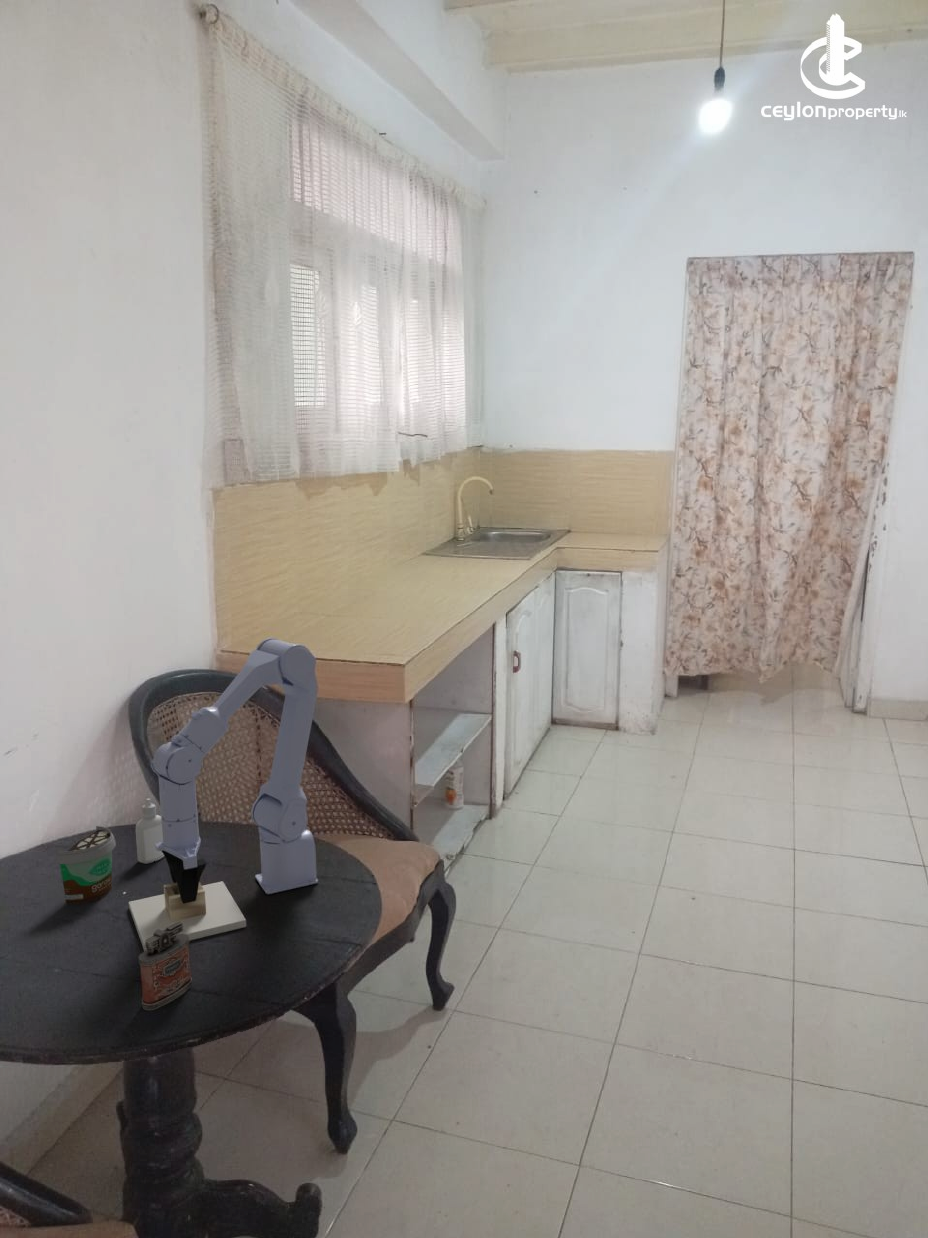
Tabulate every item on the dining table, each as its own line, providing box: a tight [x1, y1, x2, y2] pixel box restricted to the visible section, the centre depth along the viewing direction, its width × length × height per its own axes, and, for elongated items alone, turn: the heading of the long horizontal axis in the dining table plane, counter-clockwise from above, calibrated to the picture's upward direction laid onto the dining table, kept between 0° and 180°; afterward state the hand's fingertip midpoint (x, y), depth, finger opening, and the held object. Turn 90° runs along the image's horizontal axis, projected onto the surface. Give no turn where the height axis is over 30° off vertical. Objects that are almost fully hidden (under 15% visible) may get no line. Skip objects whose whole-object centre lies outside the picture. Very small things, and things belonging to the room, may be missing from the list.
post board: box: [128, 881, 247, 952], centre depth 154 cm, size 16×16×5 cm
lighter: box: [137, 922, 193, 1011], centre depth 132 cm, size 8×3×10 cm, turn 148°
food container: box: [56, 825, 117, 905], centre depth 163 cm, size 12×6×10 cm, turn 168°
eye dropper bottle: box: [135, 798, 165, 865], centre depth 177 cm, size 4×6×12 cm
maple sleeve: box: [163, 881, 206, 922], centre depth 154 cm, size 6×6×4 cm
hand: (184, 892), depth 154 cm, fingers open, 6 cm apart
